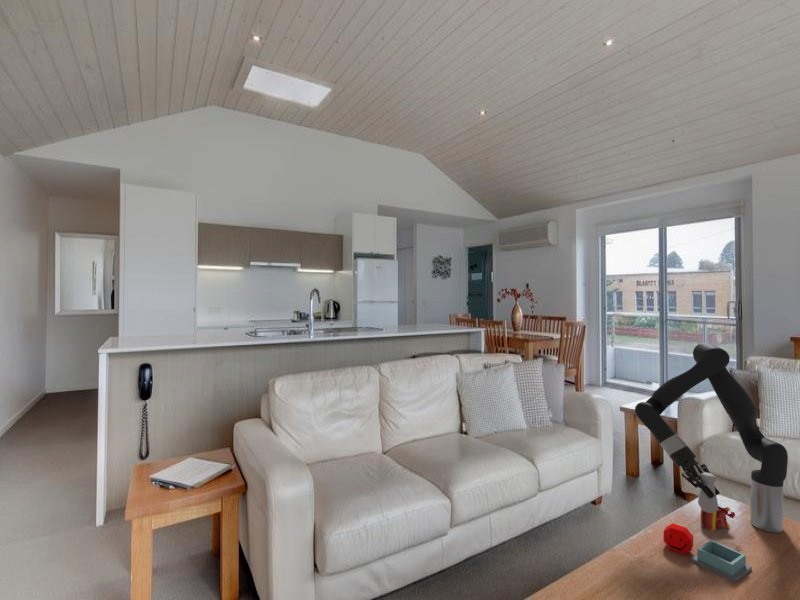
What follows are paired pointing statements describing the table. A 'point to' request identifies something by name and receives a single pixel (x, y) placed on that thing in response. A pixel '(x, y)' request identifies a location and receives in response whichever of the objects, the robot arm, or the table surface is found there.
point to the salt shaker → (703, 500)
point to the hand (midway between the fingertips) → (714, 495)
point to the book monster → (716, 518)
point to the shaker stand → (722, 560)
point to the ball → (678, 538)
